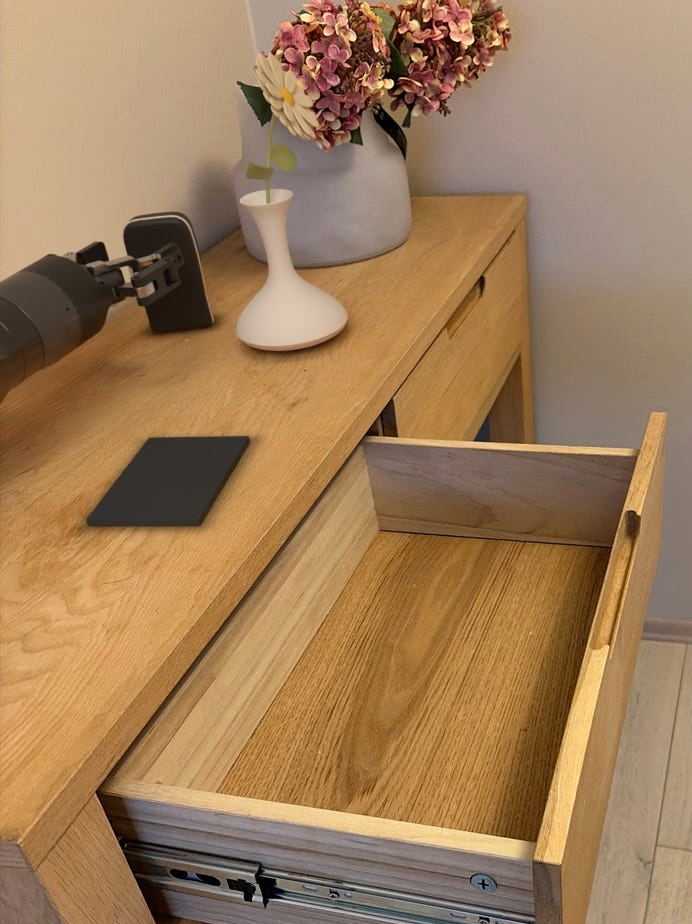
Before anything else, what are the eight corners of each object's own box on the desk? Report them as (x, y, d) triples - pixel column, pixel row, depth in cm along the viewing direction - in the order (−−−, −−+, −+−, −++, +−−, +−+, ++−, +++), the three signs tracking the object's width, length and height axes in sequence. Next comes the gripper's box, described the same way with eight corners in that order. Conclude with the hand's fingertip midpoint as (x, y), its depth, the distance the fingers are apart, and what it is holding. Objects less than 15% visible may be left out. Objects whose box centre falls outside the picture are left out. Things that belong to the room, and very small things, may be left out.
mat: (88, 526, 75) (85, 519, 75) (150, 443, 85) (148, 437, 85) (199, 526, 74) (197, 519, 74) (250, 441, 84) (248, 435, 83)
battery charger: (218, 314, 108) (190, 205, 100) (215, 327, 105) (186, 215, 97) (154, 322, 107) (122, 212, 100) (149, 335, 104) (116, 224, 97)
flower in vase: (302, 369, 94) (242, 75, 79) (216, 351, 100) (143, 71, 84) (382, 320, 103) (342, 44, 87) (298, 305, 108) (246, 42, 92)
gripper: (95, 274, 81) (193, 213, 93) (-45, 270, 85) (66, 212, 97) (123, 360, 86) (212, 291, 98) (-10, 352, 90) (91, 287, 102)
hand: (140, 252), depth 97 cm, fingers open, 8 cm apart
